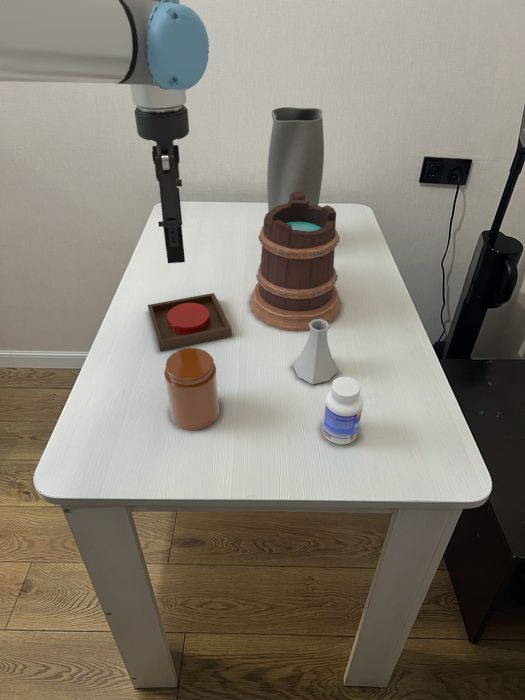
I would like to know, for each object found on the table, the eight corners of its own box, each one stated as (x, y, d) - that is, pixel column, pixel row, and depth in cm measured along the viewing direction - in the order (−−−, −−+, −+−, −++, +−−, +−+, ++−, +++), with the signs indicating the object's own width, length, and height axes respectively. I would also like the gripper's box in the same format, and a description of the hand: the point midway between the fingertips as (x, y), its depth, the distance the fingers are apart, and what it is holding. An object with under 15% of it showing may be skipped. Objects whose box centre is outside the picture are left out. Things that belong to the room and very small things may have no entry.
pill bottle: (359, 446, 73) (369, 400, 67) (323, 445, 73) (329, 399, 67) (354, 418, 77) (363, 373, 71) (320, 418, 77) (325, 372, 71)
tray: (159, 351, 89) (158, 342, 88) (148, 312, 98) (147, 304, 97) (231, 336, 93) (231, 328, 91) (214, 300, 102) (214, 292, 100)
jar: (176, 435, 74) (168, 386, 67) (167, 401, 80) (158, 352, 73) (224, 423, 76) (221, 374, 69) (212, 390, 82) (208, 341, 75)
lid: (215, 312, 98) (214, 305, 96) (203, 337, 91) (202, 330, 90) (175, 307, 99) (174, 300, 98) (161, 332, 93) (160, 324, 92)
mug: (333, 270, 111) (343, 184, 98) (344, 331, 94) (358, 236, 81) (252, 269, 111) (251, 182, 99) (248, 330, 94) (246, 235, 81)
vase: (318, 235, 124) (329, 107, 105) (314, 258, 115) (326, 123, 96) (270, 231, 126) (272, 104, 107) (263, 254, 117) (264, 120, 97)
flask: (317, 351, 89) (322, 306, 83) (344, 374, 85) (351, 328, 78) (285, 366, 86) (288, 321, 80) (311, 390, 82) (316, 344, 75)
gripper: (191, 130, 61) (202, 278, 74) (184, 86, 80) (194, 210, 93) (129, 132, 60) (151, 281, 73) (137, 86, 79) (154, 212, 92)
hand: (175, 242), depth 83 cm, fingers open, 13 cm apart
